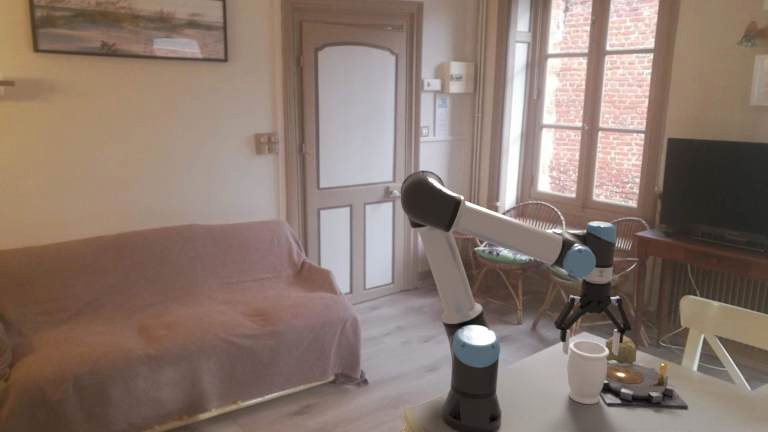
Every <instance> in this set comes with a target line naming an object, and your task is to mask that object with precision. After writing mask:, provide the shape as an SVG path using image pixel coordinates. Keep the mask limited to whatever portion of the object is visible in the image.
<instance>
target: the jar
mask: <svg viewBox="0 0 768 432" xmlns="http://www.w3.org/2000/svg"><path fill="white" fill-rule="evenodd" d="M605 346H606V345H603V344H602V343H600V342H596V341H593V340H586V339H585V340H583V339H581V340H580V339H579V340H578V339H577V340H573V341H572V342H569V351H570V352H569V354H568V359H567V364H566V365H567V367H566V368H567V381H568V382H567V383H568V386H569V390H568V397H569V398H571V399H572V400H573V401H575V402H577V403H579V404H583V405H594V404H598V402H600V400H601V399H600V398H601V397H600V394H599V393H600V392H601V390H602V388H603V384H604V381H605V378H606V373H607V361H608V359H607V356H608V354H609V350H608V348H607V347H605Z"/></svg>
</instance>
